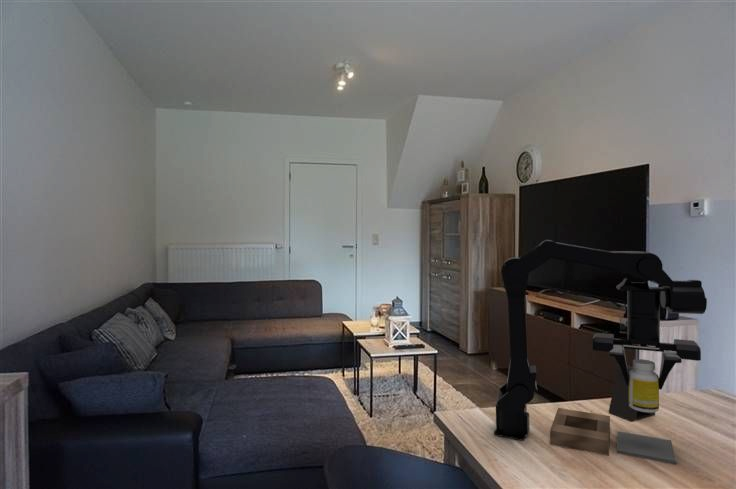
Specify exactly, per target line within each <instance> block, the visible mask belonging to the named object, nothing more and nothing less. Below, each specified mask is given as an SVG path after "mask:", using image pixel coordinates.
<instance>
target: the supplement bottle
mask: <svg viewBox="0 0 736 489" xmlns="http://www.w3.org/2000/svg"><path fill="white" fill-rule="evenodd" d="M632 366H633V368H634V370H631V371H630V372H629V406H630V407H631V408H632V409H635V410H637V411H641V412H648V413H653V412H655V413H657V412H658V411H659V410H660V389H659V375H658V373H656V372H655V370H656V363H655V362H654V361H652V360H649V359H640V358H639V359H638V358H636V359H633V360H632Z"/></svg>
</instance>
